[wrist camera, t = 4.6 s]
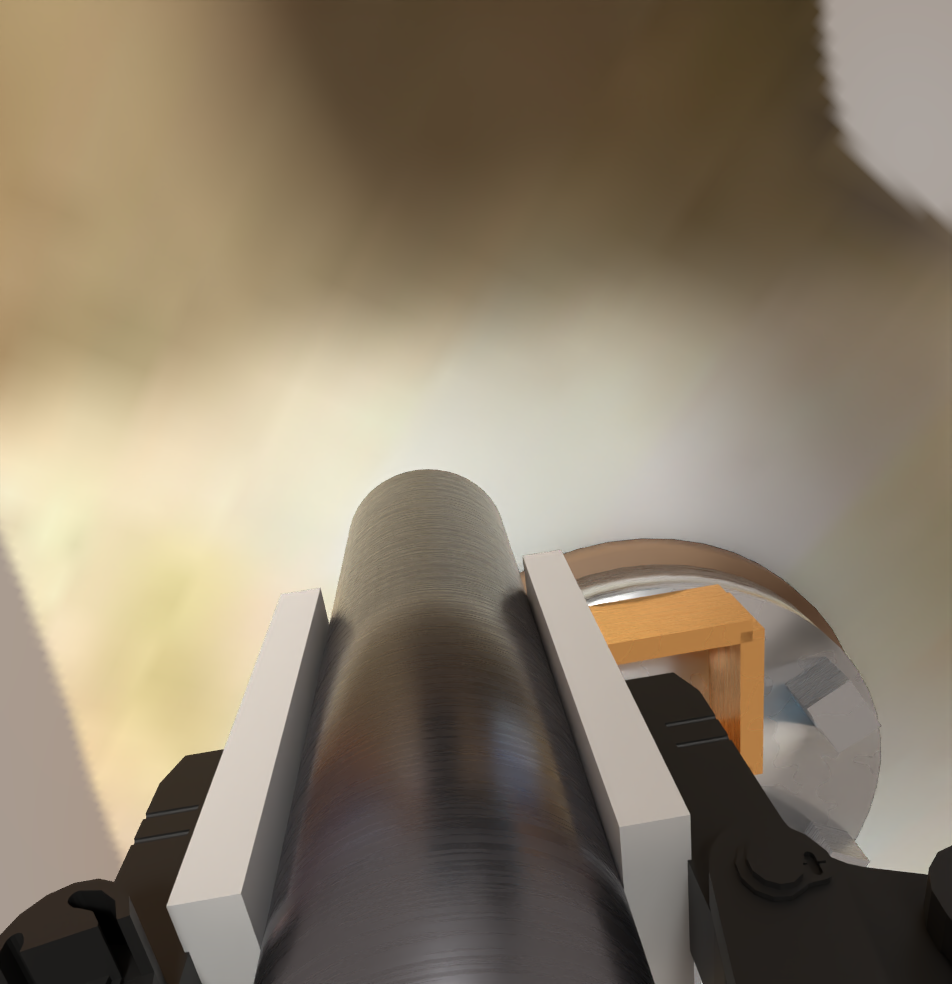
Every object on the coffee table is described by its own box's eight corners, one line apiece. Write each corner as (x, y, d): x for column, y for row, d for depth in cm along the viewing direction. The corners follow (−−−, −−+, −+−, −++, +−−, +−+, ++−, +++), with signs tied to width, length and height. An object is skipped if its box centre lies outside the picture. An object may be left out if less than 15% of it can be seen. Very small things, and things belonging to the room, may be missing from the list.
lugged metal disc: (839, 893, 32) (904, 989, 28) (443, 969, 31) (449, 1080, 27) (863, 527, 26) (952, 580, 22) (368, 609, 25) (360, 681, 21)
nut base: (354, 583, 26) (352, 596, 25) (855, 501, 27) (871, 510, 26) (433, 952, 33) (434, 972, 32) (832, 876, 34) (844, 893, 33)
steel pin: (334, 481, 17) (-338, 2602, 2) (496, 458, 17) (1185, 2197, 2) (364, 622, 18) (136, 2463, 3) (512, 599, 18) (981, 2239, 3)
